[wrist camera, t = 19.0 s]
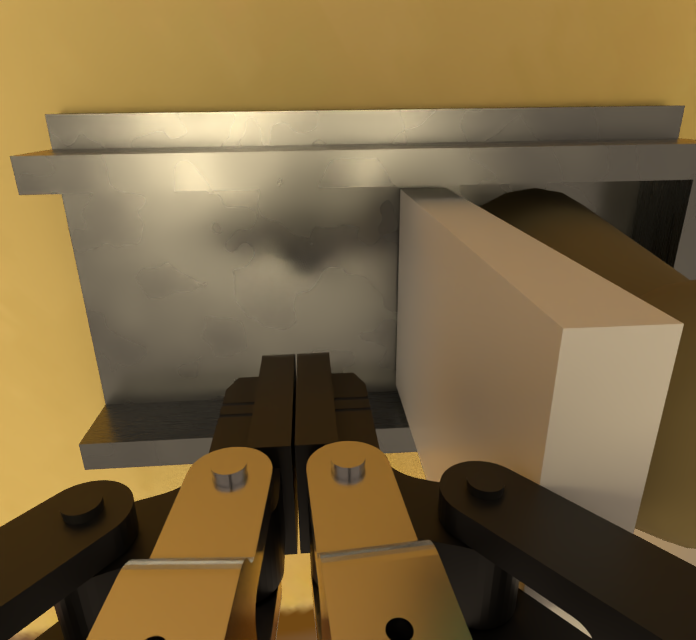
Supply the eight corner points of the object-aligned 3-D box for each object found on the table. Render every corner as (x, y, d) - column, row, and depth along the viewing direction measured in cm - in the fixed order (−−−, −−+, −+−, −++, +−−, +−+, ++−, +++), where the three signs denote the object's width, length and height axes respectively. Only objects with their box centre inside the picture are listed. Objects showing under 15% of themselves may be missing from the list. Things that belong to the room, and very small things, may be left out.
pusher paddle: (400, 189, 17) (563, 328, 6) (446, 187, 17) (683, 324, 6) (395, 384, 20) (504, 720, 9) (435, 382, 20) (590, 712, 9)
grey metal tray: (59, 114, 17) (-1, 115, 14) (665, 105, 18) (744, 105, 15) (123, 435, 21) (90, 493, 18) (605, 410, 22) (656, 461, 19)
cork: (633, 291, 19) (993, 493, 9) (491, 380, 20) (675, 652, 10) (560, 150, 17) (922, 211, 7) (407, 256, 18) (532, 443, 8)
